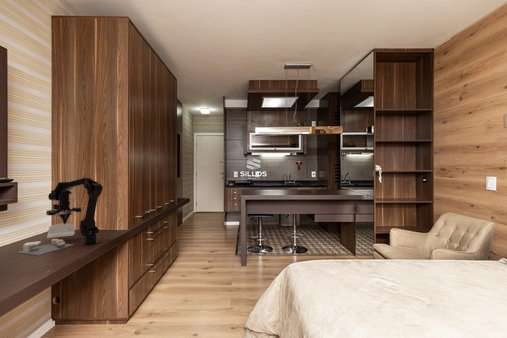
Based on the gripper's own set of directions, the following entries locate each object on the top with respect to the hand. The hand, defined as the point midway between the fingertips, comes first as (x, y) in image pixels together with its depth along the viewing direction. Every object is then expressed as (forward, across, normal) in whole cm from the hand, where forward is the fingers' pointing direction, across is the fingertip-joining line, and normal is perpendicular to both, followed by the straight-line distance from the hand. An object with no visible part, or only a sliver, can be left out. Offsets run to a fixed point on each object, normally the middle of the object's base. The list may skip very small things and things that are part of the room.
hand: (64, 224), depth 181 cm
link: (+11, +7, +9) cm, 16 cm away
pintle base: (+12, +13, +10) cm, 20 cm away
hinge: (+12, -5, -23) cm, 26 cm away
